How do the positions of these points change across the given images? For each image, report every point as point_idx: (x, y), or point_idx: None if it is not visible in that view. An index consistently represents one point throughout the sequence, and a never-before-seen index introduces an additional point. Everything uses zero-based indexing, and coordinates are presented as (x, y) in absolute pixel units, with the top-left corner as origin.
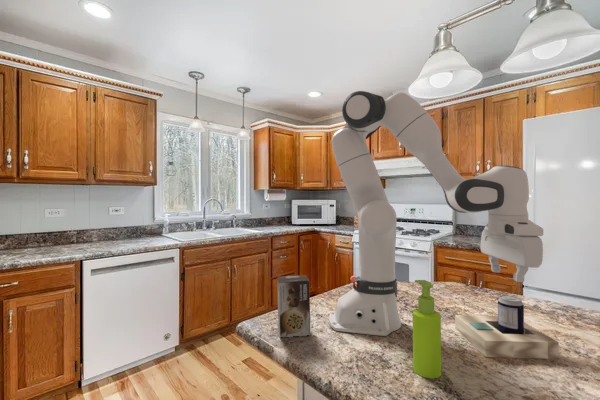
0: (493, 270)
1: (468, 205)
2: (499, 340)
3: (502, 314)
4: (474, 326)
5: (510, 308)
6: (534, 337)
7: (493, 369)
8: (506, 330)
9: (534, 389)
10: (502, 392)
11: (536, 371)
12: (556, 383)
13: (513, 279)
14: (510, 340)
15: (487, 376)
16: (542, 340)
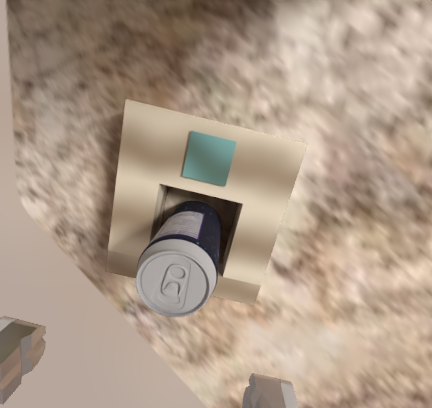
0: (267, 383)
1: None
2: (123, 140)
3: (179, 222)
4: (208, 135)
5: (150, 243)
6: (132, 243)
7: (93, 81)
8: (177, 211)
9: (26, 108)
10: (13, 28)
11: (83, 169)
12: (45, 169)
13: (38, 326)
14: (122, 170)
15: (67, 42)
16: (116, 246)
